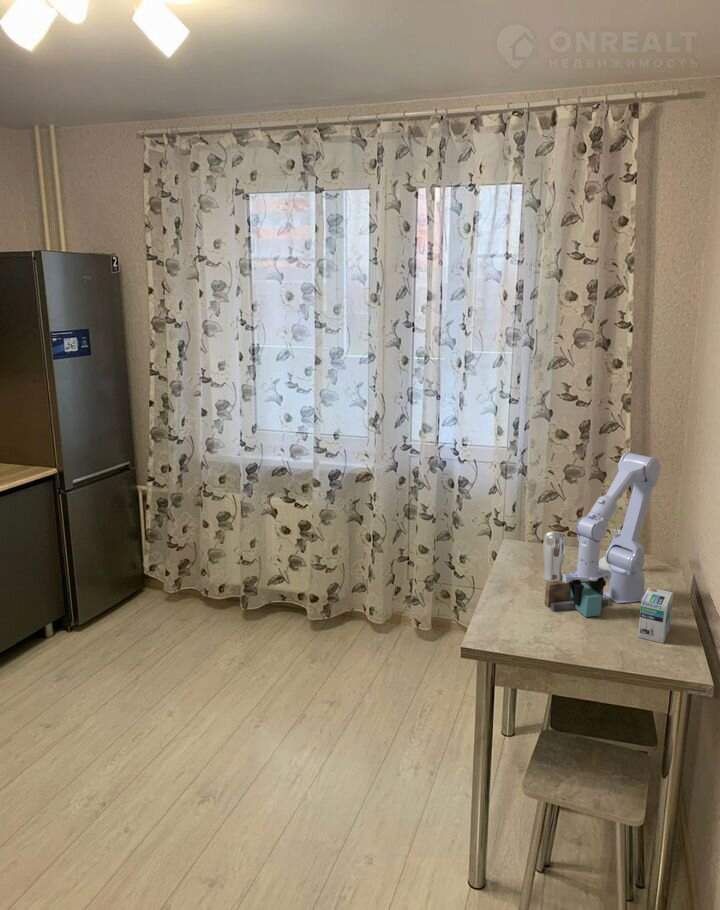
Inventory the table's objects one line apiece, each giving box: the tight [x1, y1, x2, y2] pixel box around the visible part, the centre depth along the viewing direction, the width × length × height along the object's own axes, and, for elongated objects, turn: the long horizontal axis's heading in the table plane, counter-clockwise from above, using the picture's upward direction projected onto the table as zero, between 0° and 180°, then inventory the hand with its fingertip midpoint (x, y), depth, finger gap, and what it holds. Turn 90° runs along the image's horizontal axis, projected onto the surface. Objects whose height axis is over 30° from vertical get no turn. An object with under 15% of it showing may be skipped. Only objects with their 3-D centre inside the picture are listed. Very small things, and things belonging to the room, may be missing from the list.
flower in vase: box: [598, 497, 629, 572], centre depth 227 cm, size 13×11×25 cm
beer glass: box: [541, 530, 567, 582], centre depth 220 cm, size 7×7×15 cm
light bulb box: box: [637, 586, 674, 644], centre depth 185 cm, size 11×7×11 cm, turn 148°
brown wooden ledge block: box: [544, 580, 610, 613], centre depth 202 cm, size 18×5×7 cm, turn 104°
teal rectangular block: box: [569, 583, 602, 618], centre depth 198 cm, size 4×9×6 cm, turn 14°
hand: (584, 603), depth 198 cm, fingers closed on teal rectangular block, 4 cm apart
